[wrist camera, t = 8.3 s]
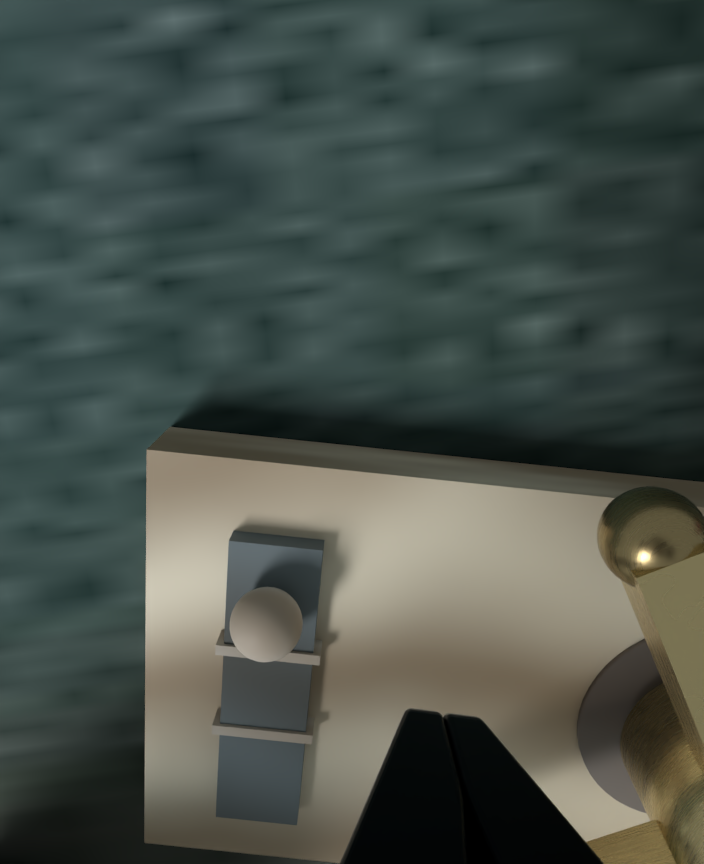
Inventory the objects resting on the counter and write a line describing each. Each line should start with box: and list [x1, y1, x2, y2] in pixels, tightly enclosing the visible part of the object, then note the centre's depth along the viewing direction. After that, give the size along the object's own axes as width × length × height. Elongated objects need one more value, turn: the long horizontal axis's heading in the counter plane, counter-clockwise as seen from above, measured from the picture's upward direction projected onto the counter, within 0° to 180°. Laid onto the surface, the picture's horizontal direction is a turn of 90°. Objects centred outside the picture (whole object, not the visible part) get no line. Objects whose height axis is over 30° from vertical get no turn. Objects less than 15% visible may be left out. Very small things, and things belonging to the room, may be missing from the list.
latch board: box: [144, 427, 704, 863], centre depth 19 cm, size 13×24×4 cm, turn 84°
